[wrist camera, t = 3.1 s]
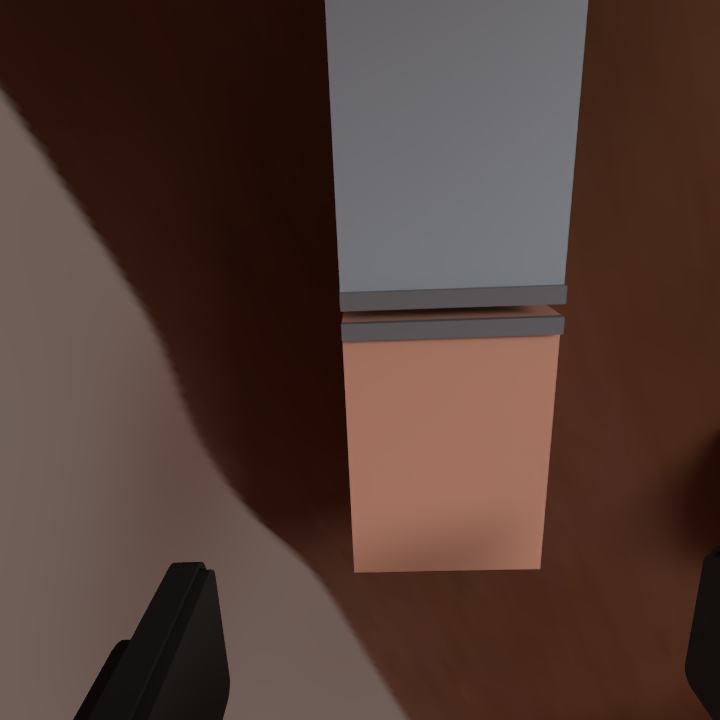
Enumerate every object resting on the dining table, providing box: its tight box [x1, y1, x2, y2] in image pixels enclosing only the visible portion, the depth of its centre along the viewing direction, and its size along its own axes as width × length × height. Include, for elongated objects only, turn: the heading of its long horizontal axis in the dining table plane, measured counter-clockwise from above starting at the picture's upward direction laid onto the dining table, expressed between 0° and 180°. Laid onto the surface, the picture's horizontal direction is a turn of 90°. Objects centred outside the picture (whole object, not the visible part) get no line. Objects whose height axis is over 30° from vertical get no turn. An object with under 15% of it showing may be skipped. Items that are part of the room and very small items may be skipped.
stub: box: [341, 305, 565, 572], centre depth 16 cm, size 7×5×6 cm
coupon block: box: [325, 0, 588, 312], centre depth 13 cm, size 12×5×6 cm, turn 2°
